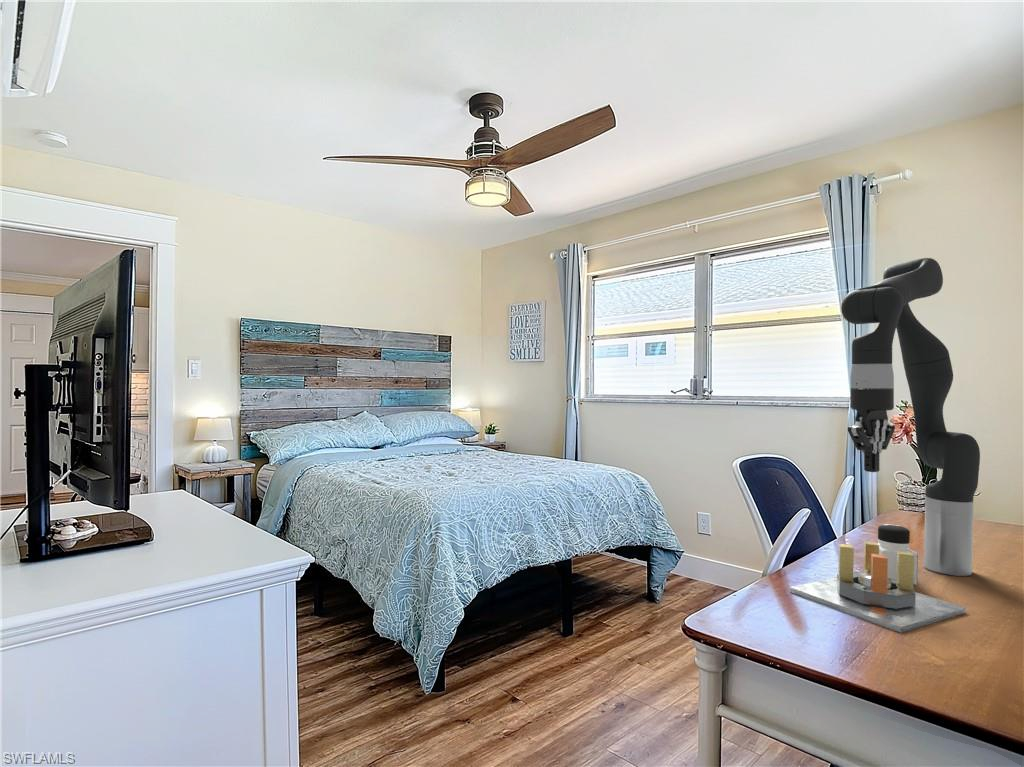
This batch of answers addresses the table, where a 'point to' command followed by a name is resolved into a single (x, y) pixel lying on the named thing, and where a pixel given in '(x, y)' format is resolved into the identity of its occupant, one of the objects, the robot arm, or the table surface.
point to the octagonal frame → (877, 578)
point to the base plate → (891, 618)
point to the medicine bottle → (895, 547)
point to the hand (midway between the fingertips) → (871, 471)
